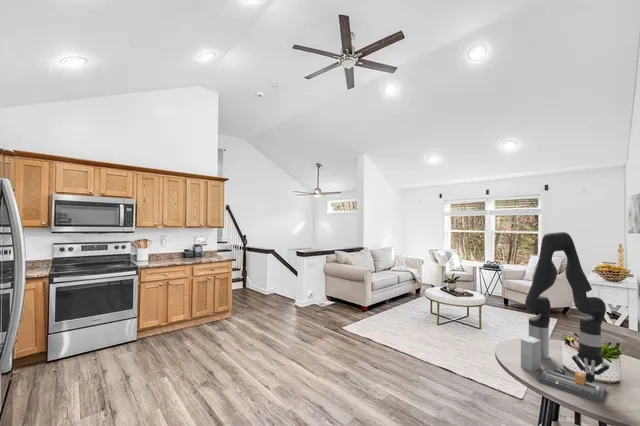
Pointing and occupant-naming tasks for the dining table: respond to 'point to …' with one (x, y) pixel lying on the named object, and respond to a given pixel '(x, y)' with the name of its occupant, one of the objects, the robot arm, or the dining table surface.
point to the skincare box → (531, 353)
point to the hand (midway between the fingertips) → (590, 381)
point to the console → (572, 384)
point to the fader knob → (580, 378)
